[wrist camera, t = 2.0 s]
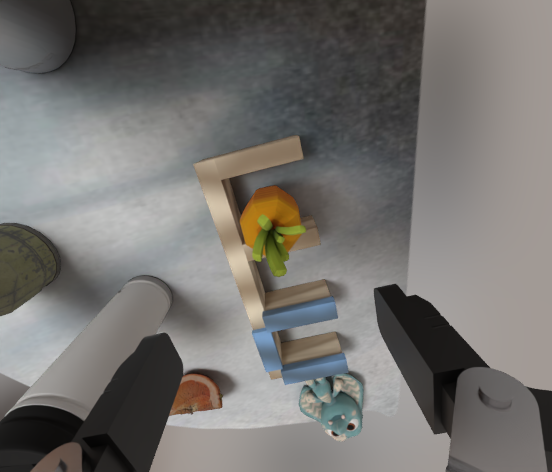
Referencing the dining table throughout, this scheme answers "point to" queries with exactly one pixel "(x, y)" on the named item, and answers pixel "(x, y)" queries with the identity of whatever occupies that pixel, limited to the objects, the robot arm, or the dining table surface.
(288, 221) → the carrot
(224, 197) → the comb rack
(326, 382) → the stuffed animal
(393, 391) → the dining table surface
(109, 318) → the travel mug
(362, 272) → the dining table surface
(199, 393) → the fruit slice
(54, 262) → the thermos
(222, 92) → the dining table surface
